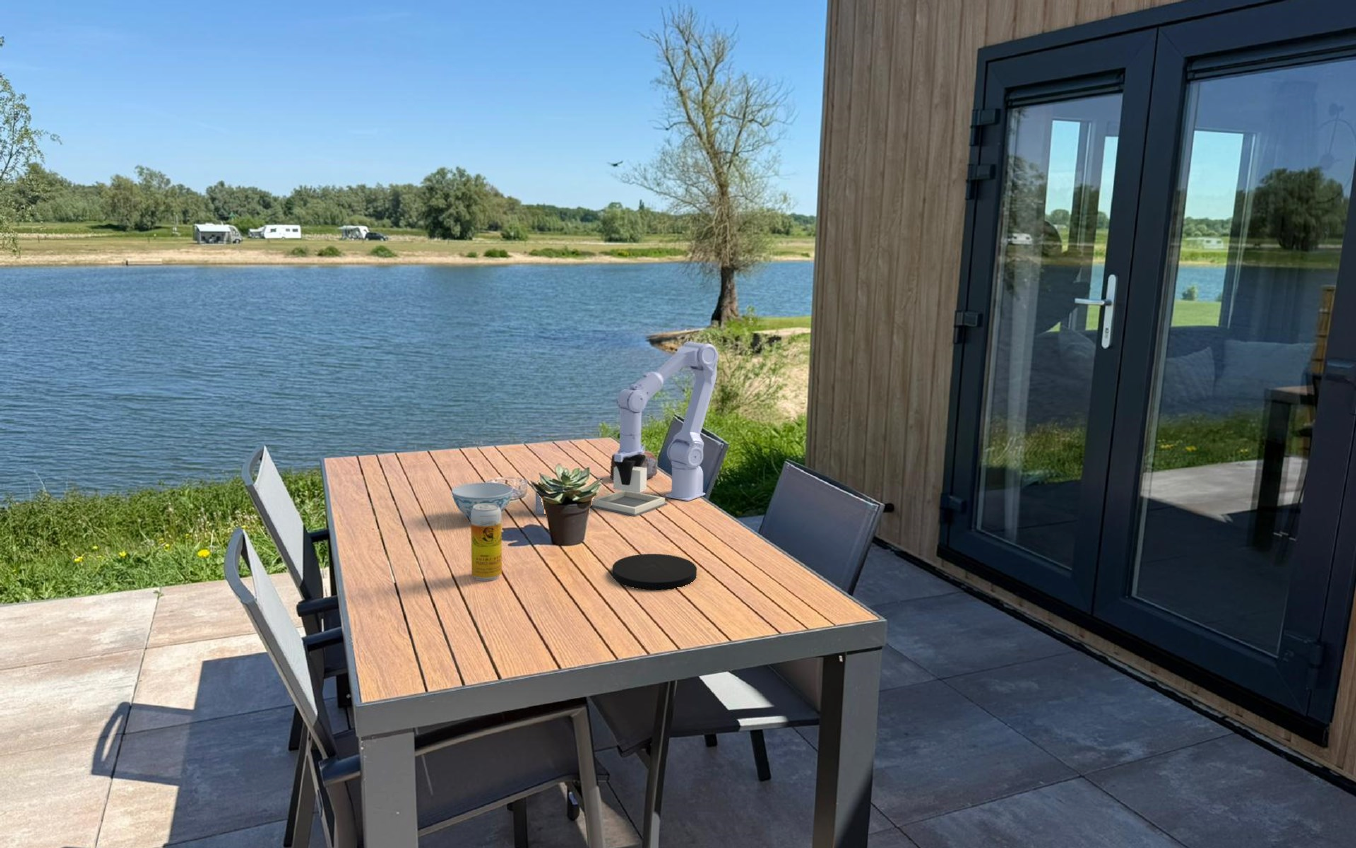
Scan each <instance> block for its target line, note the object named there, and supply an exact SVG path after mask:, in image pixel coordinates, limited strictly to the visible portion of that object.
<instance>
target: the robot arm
mask: <svg viewBox="0 0 1356 848" xmlns="http://www.w3.org/2000/svg"><path fill="white" fill-rule="evenodd" d="M719 358H720V354H719V353H718V350H717V349H716V347H715V346H714V344H711V343H701V342H694V341H686V342H684V343H683V344H682V345H681V346H679V347H678V348H677V351H676V352H675V353H674V354H673V355H672V356H671V357H670V358H668V360H667V361H665V363H663V365H661V366H660V367H659V368H658V369H657V370H656V371H648V372H646V371H645V372H644V373H643V374H642V377H641V378H640V379H639V380H637V381H636V382H635V383H632V384H630V387H629V388H624V389H622V390H621V391H620V392H619V393H618V395H617V398H616V399H615V404H616V405H617V407H618V409H619V449H618V451H617V452H616V453H614V454H613V455H614V463H615V464H616V466H617V468H618V471H619V474H620V478H621V483H622V485H630V481H631V474H632V469H633V466H635V467H641V466H642V464H643V462H644V460H645V458H646V456H645V455H640V454H644V453H645V451H646V445H645V444H644V445H643V444H642V413H643V412H642V411H643V410H645V409H646V407H647V404H648V403H647V402H648V401H650V399H651V398H652V397H653V396H655V395H656V394H657V393H659V392H660V390H662V389H663V388H664V382H665V381H666V380H668V379H669V378H670V377H672V376H674V375H675V374H676V373H677V372H679V371H680V370H682V369H683V368H685V367H689V369H691V370H692V373H693V374H694V376H695V382H694V385H693V387H692V390H691V391H692V393H691V395H690V398H689V402H688V405H687V409H686V411H685V412H686V413H685V416H684V418H683V419H684V420H683V424H682V427H681V429H680V431H678V432H677V433H676V434H675V435H673V438H672V441H671V442H670V444H669V445H668V447H667V451H666V455H667V458H668V459H669V460H670V465H671V492H670V493H667V494H665V495H664V498H671V499H676V500H680V501H685V502H690V501H692V500H695V499H698V498H699V497H702V496H705V495H706V493H705V492H703V491H704V471H703V469H702V467H701V463H702V462H703V460H704V446H705V443H704V440H703V439H702V437H701V432H702V429H703V425H704V423H705V419H706V416H707V412H708V409H709V404H710V402H711V401H710V400H711V399H712V394H713V390H714V387H715V383H716V381H717V380H716V379H717V376H718V371H717V366H718V360H719Z"/></svg>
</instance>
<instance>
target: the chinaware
mask: <svg viewBox="0 0 1356 848" xmlns="http://www.w3.org/2000/svg"><path fill="white" fill-rule="evenodd" d="M513 491H514V489H513V487H512V486H510V485H508V484H504V483H498V482H472V483H465V484H461V485H457V486H455V487H454V488H452V489H451V495H452V498H453V501H454V503H455V505H456V508H457V509H459V511H460V512H461V513H462V514H464V515H465V516H466V517H468V518H469V519H468V520H469V522H471V511H472V509H473V506H474V505H477V504H481V503H493V504H497V505H499V508H500V510H501V513H502V512H503V511H505V509H506V508H507V507H508V505H509V504H510V501H511V500H512V499H511V498H512V495H513Z"/></svg>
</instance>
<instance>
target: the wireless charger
mask: <svg viewBox="0 0 1356 848" xmlns="http://www.w3.org/2000/svg"><path fill="white" fill-rule="evenodd" d="M697 569H698V568H697V566H696V564H695V563H694V562H692V561H691V560H689V559H687V558H684V557H680V556H676V555H671V554H666V553H665V554H663V553H643V554H642V553H641V554H635V555H634V554H633V555H629V556H625V557H623V558H621V559H618V560H617V561H615V562H614V563H613V564H612V569H611V570H612V574H611V575H612V579H613V580H614V579H615V580H616V581H615V580H614V581H615V582H617V583H618V582H619V584H620V583H621V584H620V585H623V586H625V585H626V586H625V587H627V588H631V587H634V588H633V589H636V588H638V590H643V589H644V590H645V591H669V590H668V589H670V590H675V589H674V588H676V589H678V588H677V587H681V588H683V586H684V587H686V586H685V585H687V586H688V584H689V585H691V584H692V583H691V582H693V581H694V580H695V579H696V580H697V577H696V576H698V575H697V574H698V573H697V572H698V571H697ZM696 580H695V581H696ZM695 581H694V582H695ZM694 582H693V583H694ZM690 583H691V584H690ZM644 590H643V591H644Z"/></svg>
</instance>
